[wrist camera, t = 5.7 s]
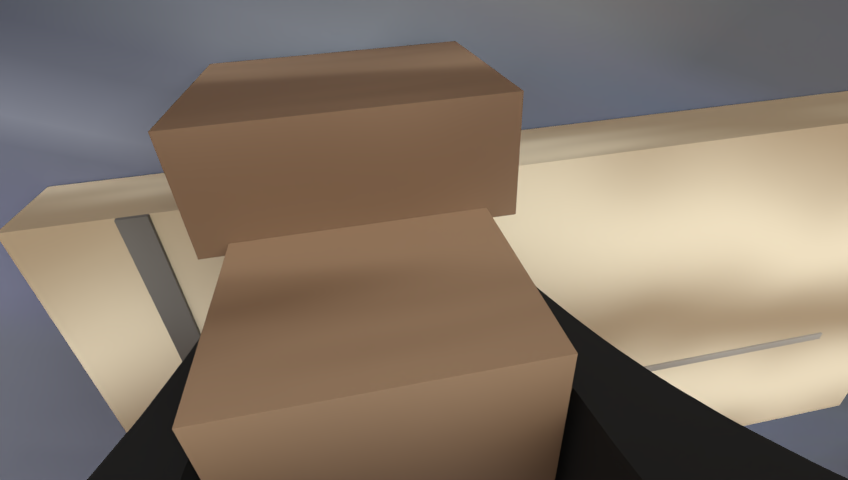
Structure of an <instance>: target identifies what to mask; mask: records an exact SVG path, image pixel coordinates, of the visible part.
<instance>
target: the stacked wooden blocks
mask: <svg viewBox="0 0 848 480" xmlns="http://www.w3.org/2000/svg"><path fill="white" fill-rule="evenodd" d="M522 107H523V90H521V89H520V88H519V87H517V86H516V85H515V84H513V83H512V82H511V81H509V80H508V79H506V78H505V77H504V76H502V75H501V74H500V73H498V72H497V71H495V70H494V69H493V68H491V67H490V66H489V65H487V64H486V63H485V62H483V61H482V60H480V59H479V58H478V57H476V56H475V55H474V54H472V53H471V52H470V51H468V50H467V49H465V48H464V47H463V46H461V45H460V44H459V43H457V42H456V41H453V42H442V43H431V44H420V45H410V46H399V47H388V48H377V49H367V50H356V51H345V52H334V53H324V54H313V55H302V56H291V57H281V58H270V59H259V60H248V61H238V62H227V63H216V64H210V65H209V66H208V67H207V68H206V69H205V70H204V71H203V73H202V74H201V75H200V76H199V77H198V78H197V79H196V80H195V81H194V82H193V83H192V85H191V86H190V87H189V88H188V89H187V90H186V91H185V92H184V93H183V94H182V95H181V97H180V98H179V99H178V100H177V101H176V102H175V103H174V104H173V105H172V106H171V107H170V109H169V110H168V111H167V112H166V113H165V114H164V115H163V116H162V117H161V118H160V119H159V121H158V122H157V123H156V124H155V125H154V126H153V127H152V128H151V129H150V130H149V131H148V133H149V135H150V138H151V140H152V143H153V146H154V148H155V151H156V153H157V156H158V158H159V161H160V163H161V166H162V168H163V171H164V174H165V176H166V179H167V181H168V184H169V186H170V189H171V191H172V194H173V197H174V199H175V202H176V204H177V207H178V209H179V212H180V214H181V217H182V220H183V222H184V225H185V227H186V230H187V232H188V235H189V237H190V240H191V243H192V245H193V248H194V250H195V253H196V255H197V258H198V260H200V259H207V258H214V257H221V256H225V258H224V261H223V264H222V267H221V271H220V274H219V277H218V281H217V284H216V287H215V290H214V294H213V297H212V300H211V303H210V307H209V310H208V313H207V316H206V320H205V323H204V326H203V329H202V333H201V336H200V339H199V342H198V346H197V349H196V352H195V355H194V359H193V362H192V365H191V368H190V372H189V375H188V378H187V381H186V385H185V388H184V391H183V394H182V398H181V401H180V404H179V407H178V411H177V414H176V417H175V420H174V424H173V427H172V430H173V432H174V434H175V435H176V437H177V439H178V441H179V442H180V444H181V446H182V448H183V449H184V451H185V453H186V455H187V456H188V458H189V460H190V462H191V464H192V465H193V467H194V469H195V471H196V472H197V474H198V476H199V478H200V479H201V480H555V477H556V471H557V466H558V460H559V455H560V449H561V444H562V438H563V433H564V427H565V422H566V416H567V411H568V405H569V400H570V394H571V389H572V383H573V378H574V372H575V367H576V361H577V356H578V353H577V351H576V350H575V348H574V347H573V345H572V343H571V342H570V340H569V339H568V337H567V335H566V334H565V332H564V331H563V329H562V327H561V326H560V324H559V323H558V321H557V319H556V318H555V316H554V315H553V313H552V311H551V310H550V308H549V307H548V305H547V303H546V302H545V300H544V299H543V297H542V295H541V294H540V292H539V291H538V289H537V287H536V286H535V284H534V283H533V281H532V279H531V278H530V276H529V275H528V273H527V271H526V270H525V268H524V267H523V265H522V263H521V262H520V260H519V259H518V257H517V256H516V254H515V252H514V251H513V249H512V248H511V246H510V244H509V243H508V241H507V240H506V238H505V236H504V235H503V233H502V232H501V230H500V228H499V227H498V225H497V224H496V222H495V220H494V219H493V217H500V216H507V215H514V214H516V202H517V187H518V171H519V155H520V139H521V123H522Z"/></svg>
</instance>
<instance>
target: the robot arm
mask: <svg viewBox="0 0 848 480" xmlns="http://www.w3.org/2000/svg"><path fill="white" fill-rule="evenodd" d="M537 289H538V291H539V292H540V294H541V295H542V297H543V299H544V300H545V302H546V303H547V305H548V307H549V308H550V310H551V311H552V313H553V315H554V316H555V318H556V319H557V321H558V323H559V324H560V326H561V327H562V329H563V331H564V332H565V334H566V335H567V337H568V339H569V340H570V342H571V343H572V345H573V347H574V348H575V350H576V351H577V353H578V356H577V361H576V367H575V372H574V378H573V383H572V389H571V394H570V400H569V405H568V411H567V416H566V422H565V427H564V433H563V438H562V444H561V449H560V455H559V460H558V466H557V471H556V477H555V480H848V479H847V478H845V477H843V476H841V475H838V474H836V473H834V472H832V471H830V470H828V469H826V468H824V467H822V466H820V465H818V464H816V463H814V462H811V461H809V460H808V459H806V458H804V457H802V456H800V455H798V454H796V453H794V452H792V451H790V450H788V449H786V448H784V447H782V446H780V445H778V444H776V443H774V442H773V441H771V440H769V439H767V438H765V437H763V436H761V435H759V434H757V433H755V432H753V431H751V430H749V429H748V428H746V427H744V426H742V425H740V424H738V423H737V422H735V421H733V420H731V419H729V418H727V417H726V416H724V415H722V414H720V413H719V412H717V411H715V410H714V409H712V408H710V407H708V406H707V405H705V404H703V403H702V402H700V401H698V400H697V399H695V398H693V397H692V396H690V395H688V394H686V393H685V392H683V391H681V390H680V389H678V388H676V387H675V386H673V385H671V384H670V383H668V382H667V381H665V380H663V379H662V378H660V377H659V376H657V375H656V374H654V373H652V372H651V371H649V370H648V369H646V368H645V367H643V366H642V365H641V364H639V363H638V362H636V361H635V360H633V359H632V358H630V357H629V356H627V355H626V354H624V353H623V352H621V351H620V350H618V349H617V348H615V347H614V346H613V345H611V344H610V343H609V342H607V341H606V340H604V339H603V338H602V337H600V336H599V335H597V334H596V333H595V332H593V331H592V330H591V329H589V328H588V327H587V326H585V325H584V324H583V323H581V322H580V321H579V320H578V319H576V318H575V317H574V316H572V315H571V314H570V313H568V312H567V311H566V310H565V309H563V308H562V307H561V306H560V305H558V304H557V303H556V302H555V301H553V300H552V299H551V298H550V297H548V296H547V295H546V294H545V293H543V292H542V291H541V290H540V289H539V288H537ZM199 339H200V338H199ZM199 339H198V341H197V342H196V344H195V345H194V346H193V348H192V349H191V350H190V352H189V353H188V354H187V356H186V357H185V359H184V360H183V361H182V363H181V364H180V365H179V367H178V368H177V369H176V371H175V372H174V373H173V375H172V376H171V377H170V379H169V380H168V381H167V382H166V384H165V385H164V386H163V388H162V389H161V390H160V392H159V393H158V394H157V395H156V397H155V398H154V399H153V401H152V402H151V403H150V405H149V406H148V407H147V408H146V410H145V411H144V412H143V414H142V415H141V416H140V417H139V419H138V420H137V421H136V422H135V424H134V425H133V426H132V427H131V428H130V429H129V431H128V432H127V433H126V434H125V435H124V437H123V438H122V439H121V440H120V441H119V443H118V444H117V445H116V446H115V447H114V449H113V450H112V451H111V452H110V453H109V455H108V456H107V457H106V458H105V459H104V461H103V462H102V463H101V464H100V465H99V466H98V468H97V469H96V470H95V471H94V472H93V474H92V475H91V476H90V477H89V478H88V479H87V480H201V479H200V478H199V476H198V474H197V472H196V471H195V469H194V467H193V465H192V464H191V462H190V460H189V458H188V456H187V455H186V453H185V451H184V449H183V448H182V446H181V444H180V442H179V441H178V439H177V437H176V435H175V434H174V432H173V430H172V427H173V424H174V420H175V417H176V414H177V411H178V407H179V404H180V401H181V398H182V394H183V391H184V388H185V385H186V381H187V378H188V375H189V372H190V368H191V365H192V362H193V359H194V355H195V352H196V349H197V346H198V342H199Z"/></svg>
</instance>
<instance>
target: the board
mask: <svg viewBox="0 0 848 480" xmlns="http://www.w3.org/2000/svg"><path fill="white" fill-rule="evenodd" d="M493 219H494V220H495V222H496V224H497V225H498V227H499V228H500V230H501V232H502V233H503V235H504V236H505V238H506V240H507V241H508V243H509V244H510V246H511V248H512V249H513V251H514V252H515V254H516V256H517V257H518V259H519V260H520V262H521V263H522V265H523V267H524V268H525V270H526V271H527V273H528V275H529V276H530V278H531V279H532V281H533V283H534V284H535V286H536V287H537V288H539V289H540V290H541V291H542V292H543V293H545V294H546V295H547V296H548V297H550V298H551V299H552V300H553V301H555V302H556V303H557V304H558V305H560V306H561V307H562V308H563V309H565V310H566V311H567V312H568V313H570V314H571V315H572V316H574V317H575V318H576V319H578V320H579V321H580V322H581V323H583V324H584V325H585V326H587V327H588V328H589V329H591V330H592V331H593V332H595V333H596V334H597V335H599V336H600V337H602V338H603V339H604V340H606V341H607V342H609V343H610V344H611V345H613V346H614V347H615V348H617V349H618V350H620V351H621V352H623V353H624V354H626V355H627V356H629V357H630V358H632V359H633V360H635V361H636V362H638V363H639V364H641V365H642V366H643V367H645V368H646V369H648V370H649V371H651V372H652V373H654V374H656V375H657V376H659V377H660V378H662V379H663V380H665V381H667V382H668V383H670V384H671V385H673V386H675V387H676V388H678V389H680V390H681V391H683V392H685V393H686V394H688V395H690V396H692V397H693V398H695V399H697V400H698V401H700V402H702V403H703V404H705V405H707V406H708V407H710V408H712V409H714V410H715V411H717V412H719V413H720V414H722V415H724V416H726V417H727V418H729V419H731V420H733V421H735V422H737V423H738V424H740V425H742V426H746V425H750V424H755V423H759V422H764V421H769V420H773V419H778V418H782V417H787V416H792V415H796V414H801V413H806V412H810V411H815V410H819V409H824V408H829V407H833V406H838V405H840V403H841V402H842V400H843V399H844V397H845V396H846V394H847V393H848V91H844V92H836V93H828V94H819V95H811V96H803V97H794V98H786V99H778V100H769V101H761V102H753V103H744V104H736V105H727V106H719V107H711V108H702V109H694V110H686V111H677V112H669V113H661V114H652V115H644V116H636V117H627V118H619V119H611V120H602V121H594V122H586V123H577V124H569V125H561V126H552V127H544V128H535V129H527V130H521V139H520V155H519V171H518V187H517V202H516V214H514V215H507V216H500V217H493ZM0 241H1V243H2V244H3V246H4V247H5V249H6V250H7V252H8V254H9V255H10V257H11V258H12V260H13V261H14V263H15V264H16V266H17V267H18V269H19V270H20V272H21V273H22V275H23V276H24V278H25V279H26V281H27V282H28V284H29V285H30V287H31V288H32V290H33V291H34V293H35V294H36V296H37V298H38V299H39V301H40V302H41V304H42V305H43V307H44V308H45V310H46V311H47V313H48V314H49V316H50V317H51V319H52V320H53V322H54V323H55V325H56V326H57V328H58V329H59V331H60V332H61V334H62V335H63V337H64V338H65V340H66V341H67V343H68V345H69V346H70V348H71V349H72V351H73V352H74V354H75V355H76V357H77V358H78V360H79V361H80V363H81V364H82V366H83V367H84V369H85V370H86V372H87V373H88V375H89V376H90V378H91V379H92V381H93V382H94V384H95V385H96V387H97V388H98V390H99V392H100V393H101V395H102V396H103V398H104V399H105V401H106V402H107V404H108V405H109V407H110V408H111V410H112V411H113V413H114V414H115V416H116V417H117V419H118V420H119V422H120V423H121V425H122V426H123V428H124V429H125V431H126V432H128V431H129V429H130V428H131V427H132V426H133V425H134V424H135V422H136V421H137V420H138V419H139V417H140V416H141V415H142V414H143V412H144V411H145V410H146V408H147V407H148V406H149V405H150V403H151V402H152V401H153V399H154V398H155V397H156V395H157V394H158V393H159V392H160V390H161V389H162V388H163V386H164V385H165V384H166V382H167V381H168V380H169V379H170V377H171V376H172V375H173V373H174V372H175V371H176V369H177V368H178V367H179V365H180V364H181V363H182V361H183V360H184V359H185V357H186V356H187V354H188V353H189V352H190V350H191V349H192V348H193V346H194V345H195V344H196V342H197V341H198V339H199V338H200V336H201V333H202V329H203V326H204V323H205V320H206V316H207V313H208V310H209V307H210V303H211V300H212V297H213V294H214V290H215V287H216V284H217V281H218V277H219V274H220V271H221V267H222V264H223V261H224V258H225V256H221V257H214V258H207V259H200V260H198V258H197V255H196V253H195V250H194V248H193V245H192V243H191V240H190V237H189V235H188V232H187V230H186V227H185V225H184V222H183V220H182V217H181V214H180V212H179V209H178V207H177V204H176V202H175V199H174V197H173V194H172V191H171V189H170V186H169V184H168V181H167V179H166V176H165V174H164V173H160V174H151V175H143V176H135V177H126V178H118V179H110V180H101V181H93V182H85V183H76V184H68V185H60V186H51V187H47V188H46V189H45V190H44V191H43V192H42V193H40V194H39V195H38V196H37V197H36V198H35V199H34V200H33V201H32V202H30V203H29V204H28V205H27V206H26V207H25V208H24V209H23V210H21V211H20V212H19V213H18V214H17V215H16V216H15V217H14V218H12V219H11V220H10V221H9V222H8V223H7V224H6V225H5V226H4V227H2V228H1V229H0Z"/></svg>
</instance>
